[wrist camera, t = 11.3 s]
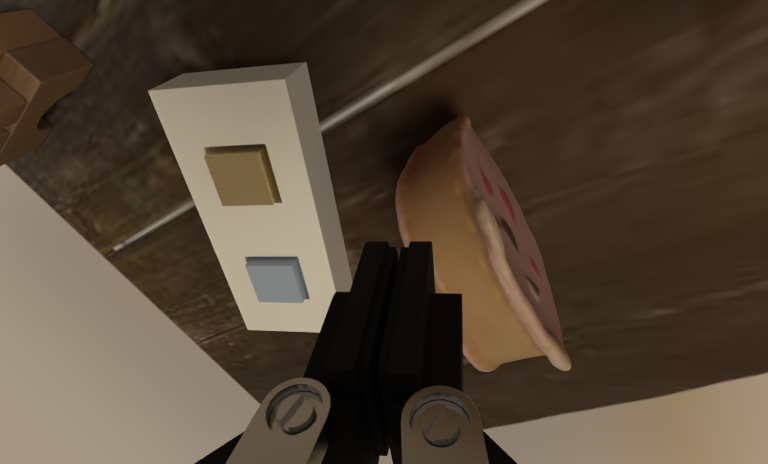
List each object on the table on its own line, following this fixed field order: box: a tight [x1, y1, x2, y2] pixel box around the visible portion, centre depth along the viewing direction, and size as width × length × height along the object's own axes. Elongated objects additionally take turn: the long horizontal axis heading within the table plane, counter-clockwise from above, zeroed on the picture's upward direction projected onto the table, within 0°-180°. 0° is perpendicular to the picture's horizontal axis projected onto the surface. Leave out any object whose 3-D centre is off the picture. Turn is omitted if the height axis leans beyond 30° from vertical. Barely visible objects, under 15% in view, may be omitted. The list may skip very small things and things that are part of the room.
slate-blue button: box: [245, 257, 308, 303], centre depth 45 cm, size 5×5×3 cm
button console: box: [148, 62, 352, 332], centre depth 44 cm, size 28×12×6 cm, turn 7°
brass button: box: [204, 144, 280, 206], centre depth 39 cm, size 5×5×3 cm
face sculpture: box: [395, 114, 571, 372], centre depth 35 cm, size 20×7×17 cm, turn 33°
